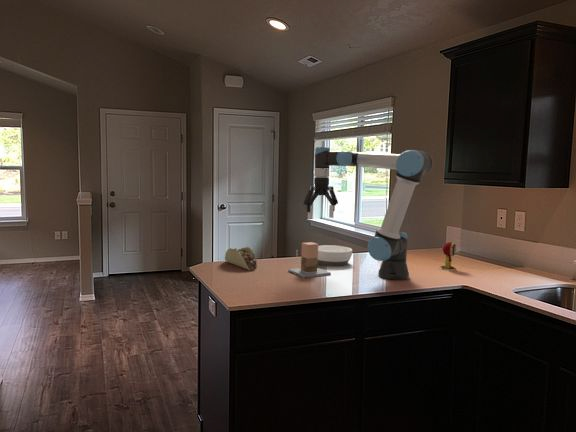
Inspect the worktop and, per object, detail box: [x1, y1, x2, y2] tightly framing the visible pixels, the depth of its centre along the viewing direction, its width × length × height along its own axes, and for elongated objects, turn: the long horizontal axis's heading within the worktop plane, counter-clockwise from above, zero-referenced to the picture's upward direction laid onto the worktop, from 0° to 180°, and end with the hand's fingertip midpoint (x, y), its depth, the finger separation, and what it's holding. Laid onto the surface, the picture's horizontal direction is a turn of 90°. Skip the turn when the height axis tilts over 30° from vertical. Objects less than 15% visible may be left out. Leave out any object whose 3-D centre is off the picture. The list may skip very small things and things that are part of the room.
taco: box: [224, 246, 258, 272], centre depth 264 cm, size 10×27×10 cm, turn 36°
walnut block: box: [300, 256, 318, 272], centre depth 252 cm, size 6×6×7 cm
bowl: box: [317, 244, 353, 267], centre depth 280 cm, size 22×22×8 cm
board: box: [287, 267, 332, 279], centre depth 253 cm, size 15×16×1 cm
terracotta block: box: [301, 241, 319, 259], centre depth 252 cm, size 6×6×7 cm
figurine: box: [438, 241, 457, 272], centre depth 274 cm, size 9×10×15 cm
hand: (320, 218), depth 259 cm, fingers open, 13 cm apart
